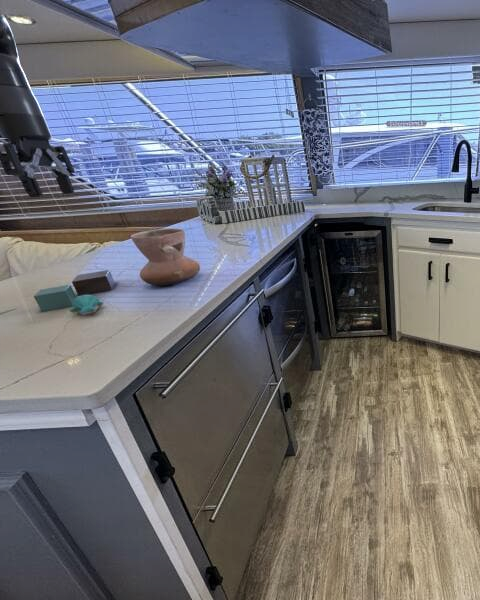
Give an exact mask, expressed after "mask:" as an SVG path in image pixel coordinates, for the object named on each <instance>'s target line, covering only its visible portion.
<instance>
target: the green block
mask: <svg viewBox="0 0 480 600" xmlns="http://www.w3.org/2000/svg"><path fill="white" fill-rule="evenodd" d="M77 297H78V296H77V295H76V293H75V291H74V289H73V287H72V285H71V284H67V285H66V284H65V285H59V286H55V287H54V286H53V287H48V288H43V289H41V288H40V289H39V290H38V291H37V292H36V293H35V294H34V295H33V299H34V300H35V302H36V304H37V306H38V307H39V309H40V311H41V312H43V313H44V312H48V311H52V310H57V309H62V308H68V307H72V303H73V301H74V299H76V298H77Z"/></svg>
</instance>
